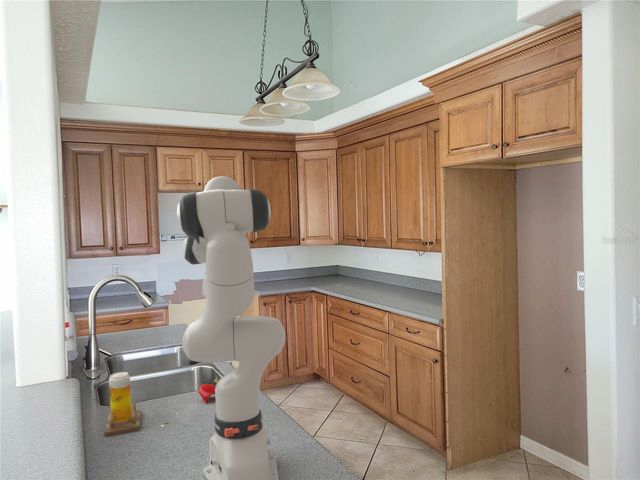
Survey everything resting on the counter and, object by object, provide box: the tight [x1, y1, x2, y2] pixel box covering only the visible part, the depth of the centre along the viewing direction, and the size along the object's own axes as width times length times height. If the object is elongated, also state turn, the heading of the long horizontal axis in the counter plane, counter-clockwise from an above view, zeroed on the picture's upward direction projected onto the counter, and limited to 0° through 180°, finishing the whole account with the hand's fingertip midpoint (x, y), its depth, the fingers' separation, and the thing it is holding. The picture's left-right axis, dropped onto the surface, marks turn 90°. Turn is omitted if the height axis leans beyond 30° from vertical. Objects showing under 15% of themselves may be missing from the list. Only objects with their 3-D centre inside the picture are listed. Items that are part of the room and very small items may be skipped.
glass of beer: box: [108, 371, 132, 424], centre depth 151 cm, size 6×6×15 cm
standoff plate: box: [104, 402, 142, 437], centre depth 151 cm, size 14×10×5 cm
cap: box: [197, 383, 216, 404], centre depth 169 cm, size 8×6×6 cm
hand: (226, 311), depth 161 cm, fingers open, 8 cm apart
